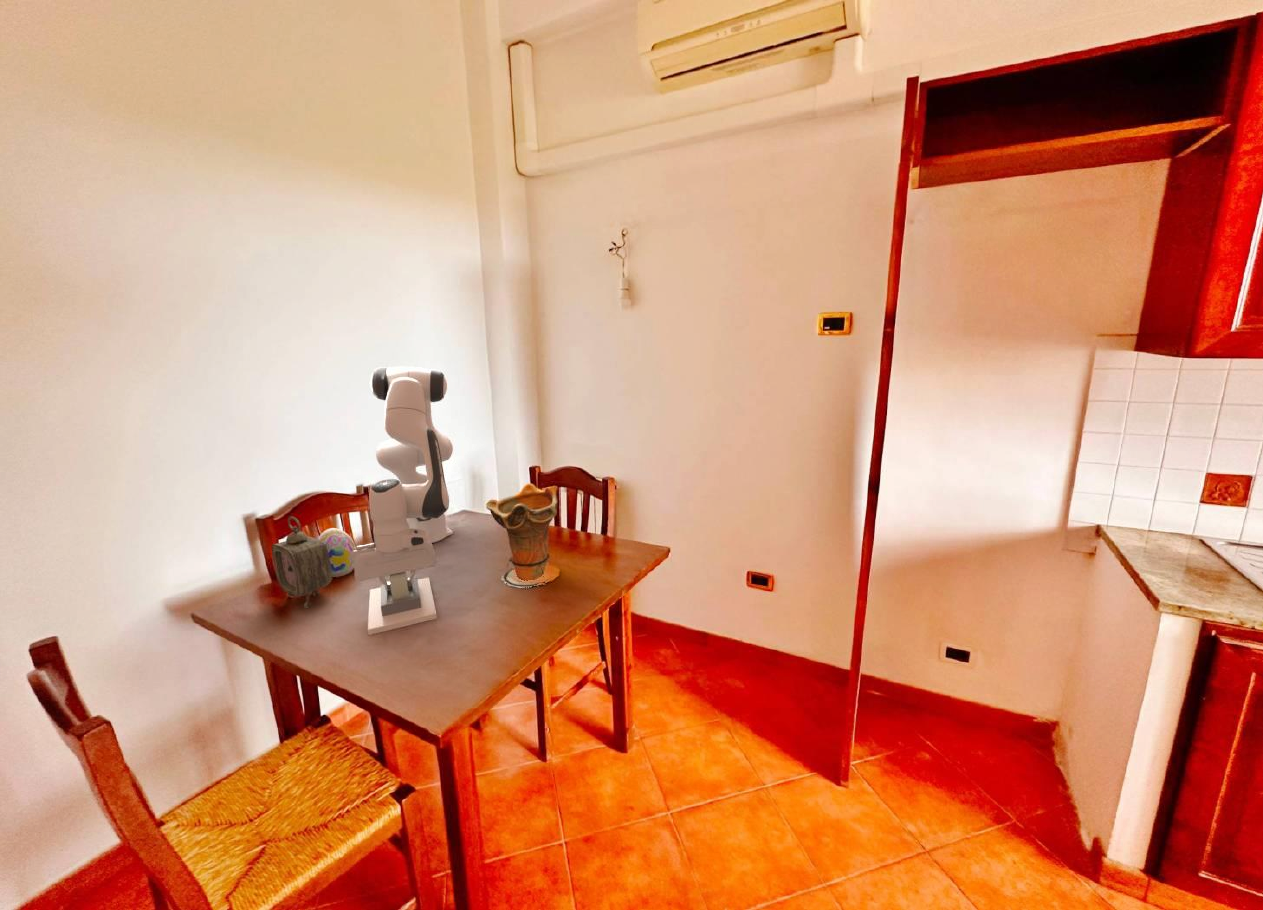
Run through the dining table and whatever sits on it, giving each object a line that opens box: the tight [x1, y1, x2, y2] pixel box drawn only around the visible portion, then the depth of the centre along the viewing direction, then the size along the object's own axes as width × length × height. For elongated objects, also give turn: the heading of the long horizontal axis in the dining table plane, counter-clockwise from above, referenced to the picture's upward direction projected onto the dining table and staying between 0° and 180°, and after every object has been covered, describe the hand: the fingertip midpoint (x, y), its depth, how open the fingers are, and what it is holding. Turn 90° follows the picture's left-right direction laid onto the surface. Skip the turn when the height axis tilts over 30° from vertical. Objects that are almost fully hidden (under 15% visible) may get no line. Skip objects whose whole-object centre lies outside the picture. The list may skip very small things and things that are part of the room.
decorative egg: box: [317, 527, 356, 578], centre depth 159 cm, size 12×12×15 cm
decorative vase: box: [485, 482, 559, 589], centre depth 151 cm, size 21×23×28 cm
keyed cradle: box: [367, 577, 438, 636], centre depth 138 cm, size 24×16×4 cm, turn 26°
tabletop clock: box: [271, 516, 333, 608], centre depth 141 cm, size 14×9×25 cm, turn 56°
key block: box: [388, 572, 409, 601], centre depth 137 cm, size 4×8×7 cm, turn 26°
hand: (399, 587), depth 137 cm, fingers closed on key block, 4 cm apart
